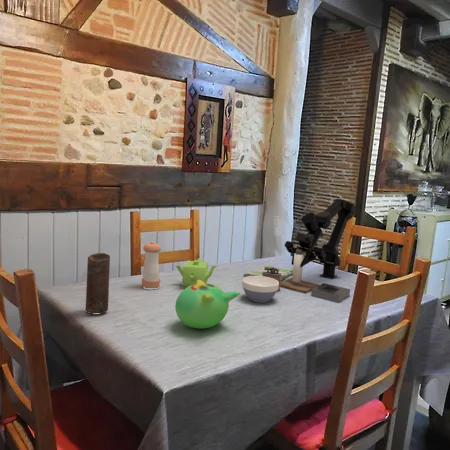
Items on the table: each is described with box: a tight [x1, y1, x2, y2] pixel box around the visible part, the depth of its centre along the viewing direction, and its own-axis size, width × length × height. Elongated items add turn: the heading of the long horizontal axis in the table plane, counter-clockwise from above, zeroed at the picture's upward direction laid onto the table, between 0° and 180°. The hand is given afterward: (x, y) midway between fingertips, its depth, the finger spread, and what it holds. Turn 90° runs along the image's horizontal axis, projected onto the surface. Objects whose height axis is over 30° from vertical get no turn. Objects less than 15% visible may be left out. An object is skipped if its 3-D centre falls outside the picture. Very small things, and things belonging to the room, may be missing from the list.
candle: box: [85, 252, 111, 314], centre depth 147 cm, size 8×7×20 cm
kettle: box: [175, 257, 219, 289], centre depth 184 cm, size 15×14×11 cm
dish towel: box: [242, 265, 293, 282], centre depth 208 cm, size 17×23×4 cm
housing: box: [310, 282, 351, 304], centre depth 183 cm, size 12×12×3 cm
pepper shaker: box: [141, 240, 162, 288], centre depth 178 cm, size 7×7×19 cm
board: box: [280, 277, 320, 294], centre depth 194 cm, size 14×14×1 cm
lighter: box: [262, 266, 281, 293], centre depth 185 cm, size 8×3×10 cm, turn 84°
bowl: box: [241, 276, 279, 304], centre depth 172 cm, size 14×14×8 cm
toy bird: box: [174, 280, 241, 330], centre depth 141 cm, size 18×17×15 cm
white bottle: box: [291, 249, 305, 282], centre depth 190 cm, size 4×4×14 cm
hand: (296, 265), depth 189 cm, fingers closed on white bottle, 4 cm apart
